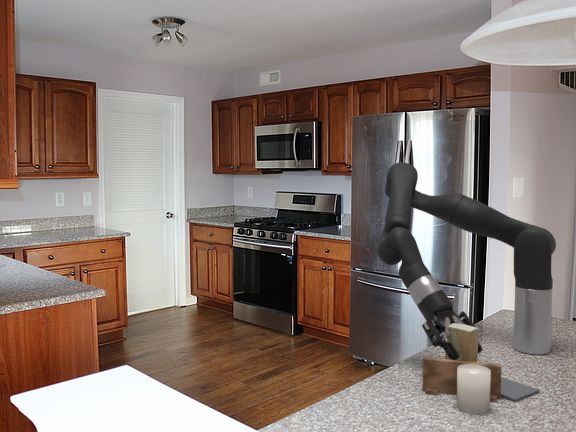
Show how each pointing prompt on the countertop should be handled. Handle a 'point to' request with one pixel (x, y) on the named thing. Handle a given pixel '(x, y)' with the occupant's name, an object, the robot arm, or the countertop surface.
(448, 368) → the walnut screen
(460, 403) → the white pillar candle
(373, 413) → the countertop surface
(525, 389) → the slate mat
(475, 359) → the skincare box
